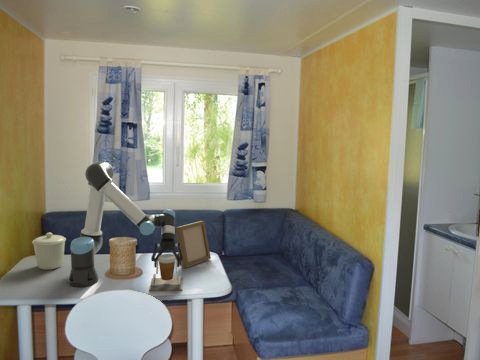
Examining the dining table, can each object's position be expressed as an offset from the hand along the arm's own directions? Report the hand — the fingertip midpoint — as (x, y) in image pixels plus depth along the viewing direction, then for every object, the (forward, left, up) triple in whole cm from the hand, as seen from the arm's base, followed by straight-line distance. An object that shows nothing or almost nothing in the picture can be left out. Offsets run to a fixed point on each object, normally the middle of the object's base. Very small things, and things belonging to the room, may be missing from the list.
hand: (166, 272), depth 208 cm
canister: (-70, +35, -8) cm, 79 cm away
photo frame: (+13, +39, -8) cm, 42 cm away
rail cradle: (0, +3, -8) cm, 9 cm away
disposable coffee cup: (0, +3, -5) cm, 5 cm away
